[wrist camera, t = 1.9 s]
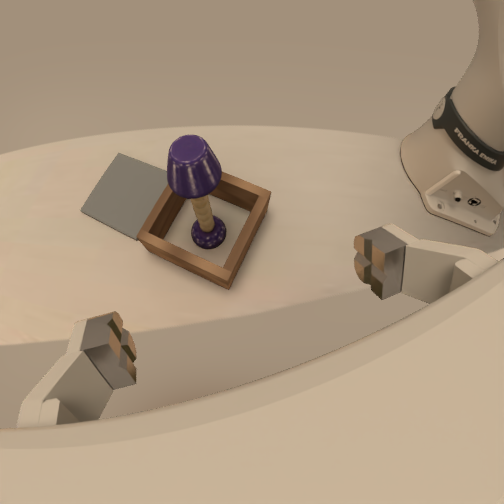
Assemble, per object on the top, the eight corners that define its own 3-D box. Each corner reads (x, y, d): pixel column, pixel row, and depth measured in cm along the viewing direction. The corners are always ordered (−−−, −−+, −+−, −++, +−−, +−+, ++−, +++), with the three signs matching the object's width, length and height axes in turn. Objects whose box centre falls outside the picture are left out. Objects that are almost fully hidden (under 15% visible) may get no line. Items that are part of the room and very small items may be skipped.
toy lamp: (181, 237, 37) (145, 160, 21) (200, 206, 38) (180, 118, 22) (215, 255, 36) (200, 185, 20) (234, 223, 38) (233, 138, 22)
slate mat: (175, 176, 39) (175, 174, 39) (137, 240, 36) (135, 239, 36) (119, 154, 40) (118, 152, 40) (81, 211, 37) (80, 210, 37)
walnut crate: (267, 210, 38) (271, 191, 34) (228, 289, 35) (227, 280, 30) (190, 178, 39) (185, 157, 35) (148, 250, 36) (136, 236, 31)
